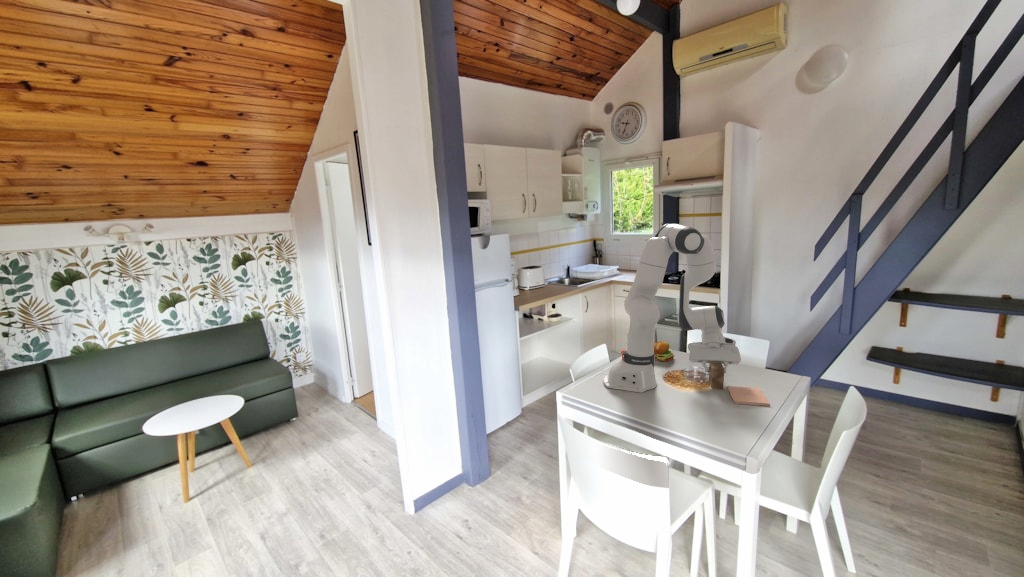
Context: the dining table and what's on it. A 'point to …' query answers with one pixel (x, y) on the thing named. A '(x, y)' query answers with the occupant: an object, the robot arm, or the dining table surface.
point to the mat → (747, 395)
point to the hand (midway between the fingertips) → (715, 372)
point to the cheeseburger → (663, 352)
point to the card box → (716, 375)
